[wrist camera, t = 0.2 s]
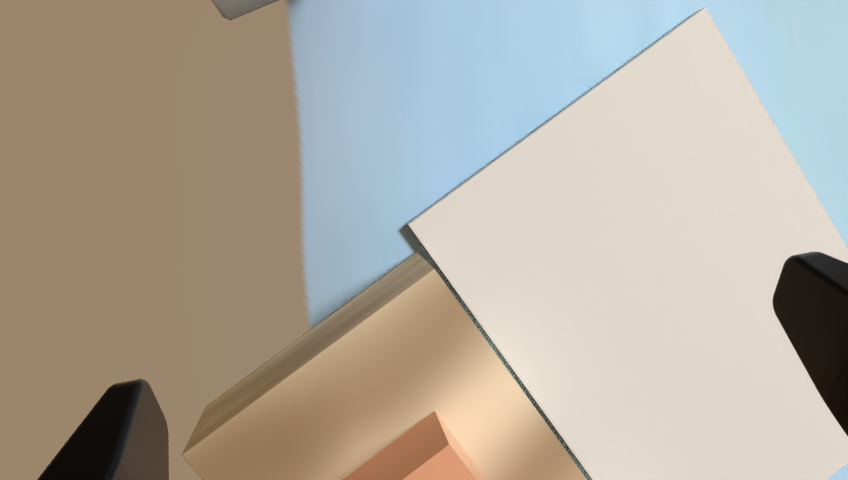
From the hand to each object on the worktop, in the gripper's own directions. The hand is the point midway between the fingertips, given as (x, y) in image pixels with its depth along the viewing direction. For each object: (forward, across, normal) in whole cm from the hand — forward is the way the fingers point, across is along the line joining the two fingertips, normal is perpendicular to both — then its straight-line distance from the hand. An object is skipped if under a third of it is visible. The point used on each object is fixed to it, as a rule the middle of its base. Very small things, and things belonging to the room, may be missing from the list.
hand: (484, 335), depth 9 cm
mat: (+10, -10, +12) cm, 19 cm away
